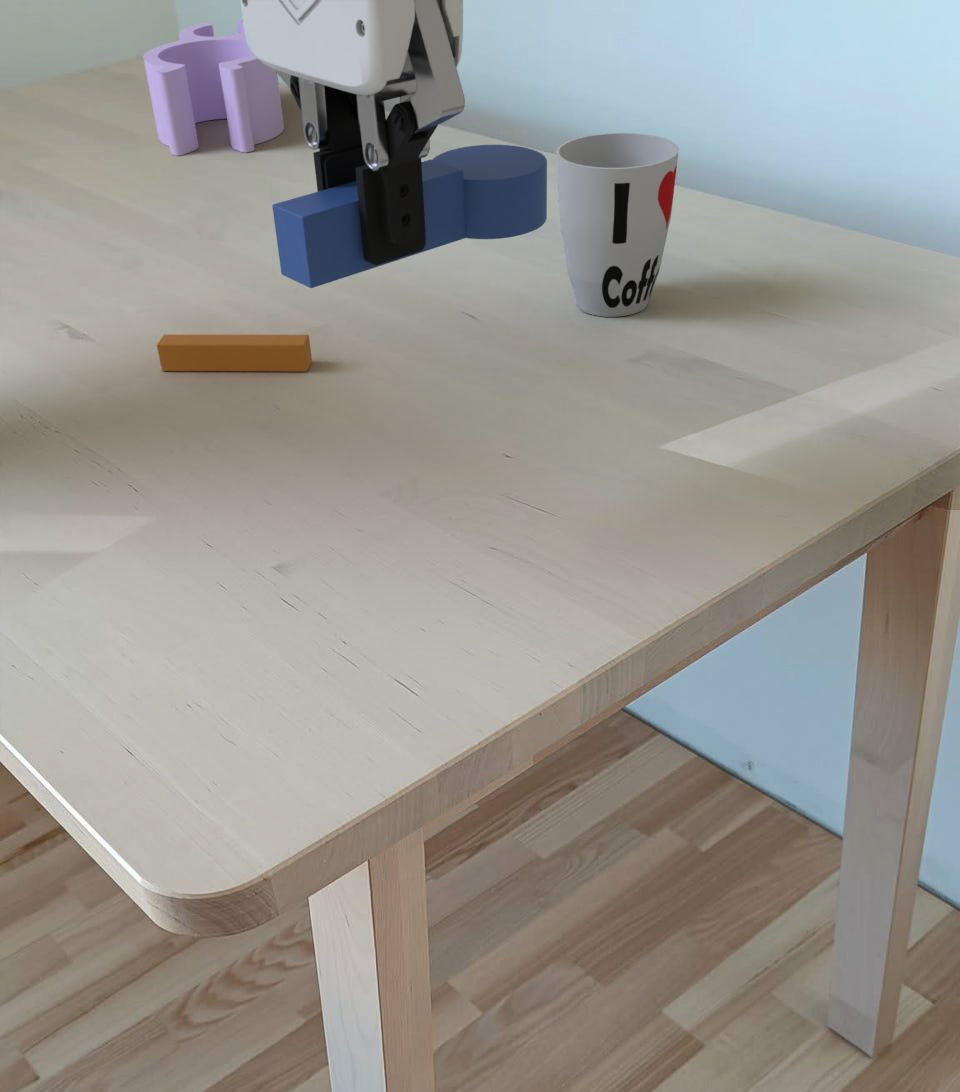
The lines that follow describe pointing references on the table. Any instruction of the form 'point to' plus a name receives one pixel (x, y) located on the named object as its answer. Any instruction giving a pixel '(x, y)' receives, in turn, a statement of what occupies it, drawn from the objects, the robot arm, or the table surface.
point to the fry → (234, 352)
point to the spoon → (449, 206)
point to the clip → (212, 89)
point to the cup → (615, 217)
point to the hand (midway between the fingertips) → (374, 244)
